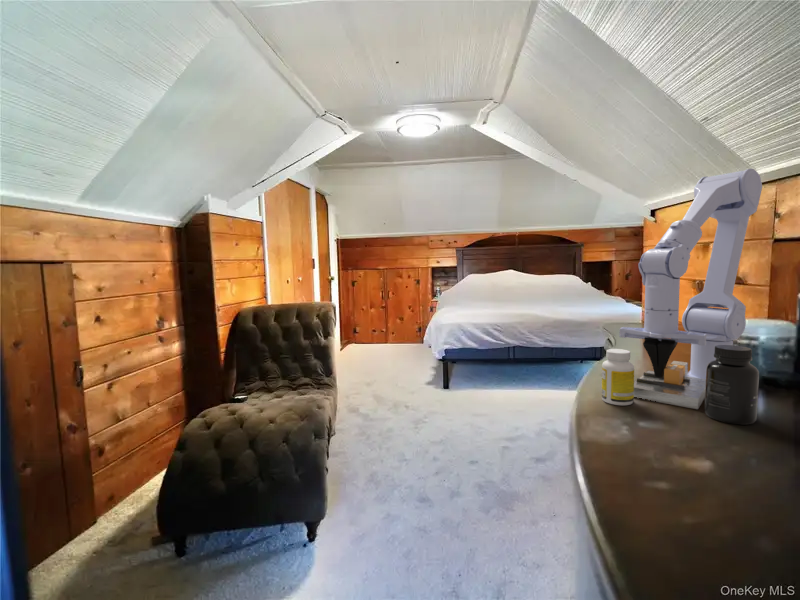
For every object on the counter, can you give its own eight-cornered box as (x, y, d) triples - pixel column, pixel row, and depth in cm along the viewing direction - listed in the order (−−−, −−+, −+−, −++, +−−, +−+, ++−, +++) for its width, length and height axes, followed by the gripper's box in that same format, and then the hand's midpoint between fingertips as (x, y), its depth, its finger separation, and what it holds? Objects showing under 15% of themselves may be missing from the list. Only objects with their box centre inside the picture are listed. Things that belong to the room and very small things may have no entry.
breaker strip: (647, 379, 90) (648, 357, 90) (709, 389, 83) (710, 365, 82) (629, 396, 80) (629, 371, 80) (697, 409, 73) (698, 382, 72)
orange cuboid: (668, 379, 83) (668, 363, 83) (683, 381, 81) (683, 365, 81) (663, 383, 80) (664, 368, 80) (679, 386, 78) (679, 370, 78)
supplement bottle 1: (640, 402, 77) (641, 351, 76) (621, 408, 74) (622, 355, 73) (613, 394, 82) (614, 346, 81) (595, 399, 79) (595, 350, 78)
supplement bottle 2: (766, 426, 65) (771, 352, 63) (717, 424, 66) (721, 352, 65) (740, 410, 71) (743, 343, 70) (696, 409, 73) (699, 343, 72)
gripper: (615, 309, 83) (614, 374, 85) (703, 314, 73) (700, 388, 74) (625, 305, 88) (624, 366, 90) (709, 309, 78) (706, 378, 80)
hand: (659, 376), depth 82 cm, fingers closed
